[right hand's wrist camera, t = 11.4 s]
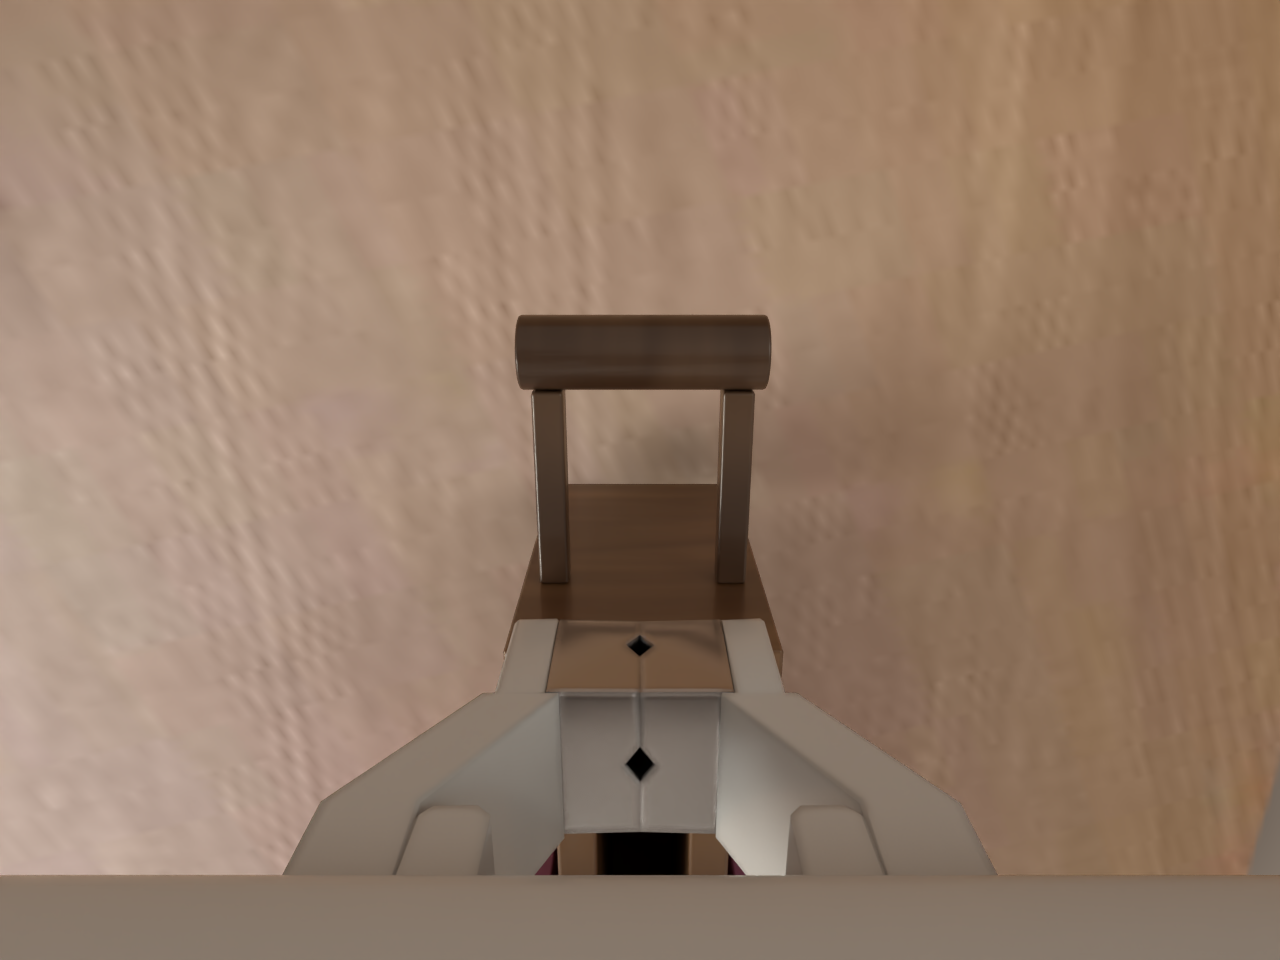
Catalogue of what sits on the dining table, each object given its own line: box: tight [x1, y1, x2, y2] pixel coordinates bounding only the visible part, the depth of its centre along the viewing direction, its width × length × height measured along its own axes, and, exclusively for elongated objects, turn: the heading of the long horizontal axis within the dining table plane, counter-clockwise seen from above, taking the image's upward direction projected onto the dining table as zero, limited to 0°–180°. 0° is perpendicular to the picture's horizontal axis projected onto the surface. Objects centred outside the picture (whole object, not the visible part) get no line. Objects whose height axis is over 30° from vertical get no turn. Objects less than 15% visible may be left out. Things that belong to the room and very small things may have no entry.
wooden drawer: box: [503, 315, 783, 875], centre depth 21 cm, size 24×5×8 cm, turn 0°
